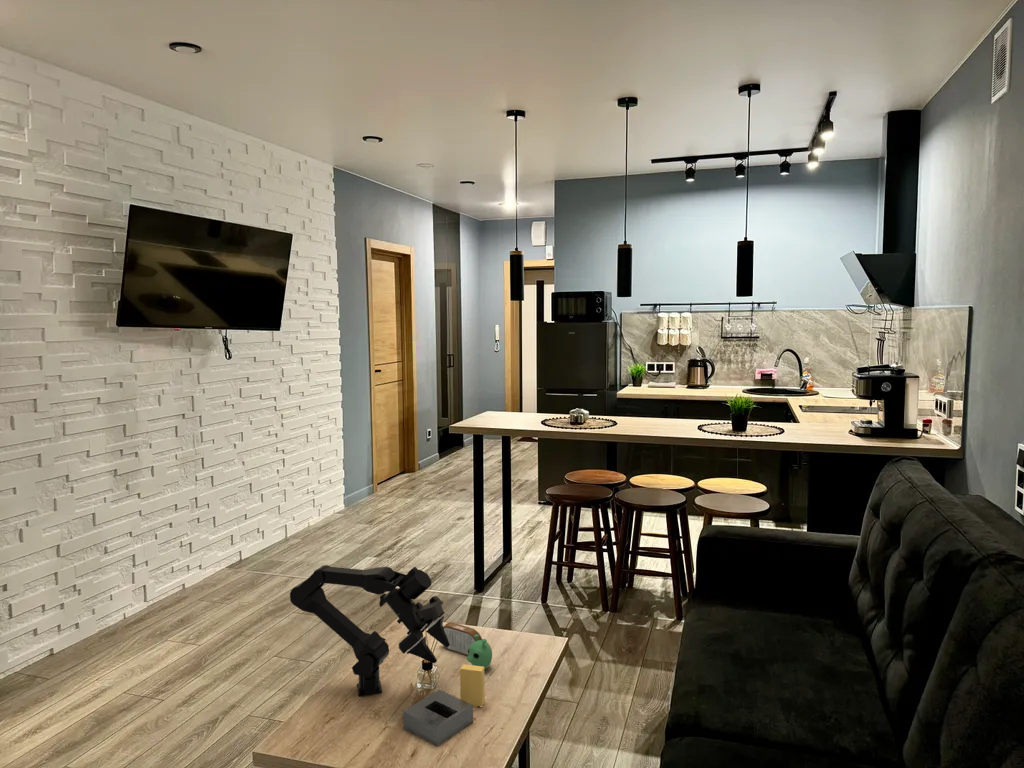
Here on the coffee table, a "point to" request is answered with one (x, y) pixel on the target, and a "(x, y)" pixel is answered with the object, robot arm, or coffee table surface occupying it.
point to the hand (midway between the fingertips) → (442, 654)
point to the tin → (460, 637)
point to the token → (472, 684)
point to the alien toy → (480, 653)
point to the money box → (437, 717)
